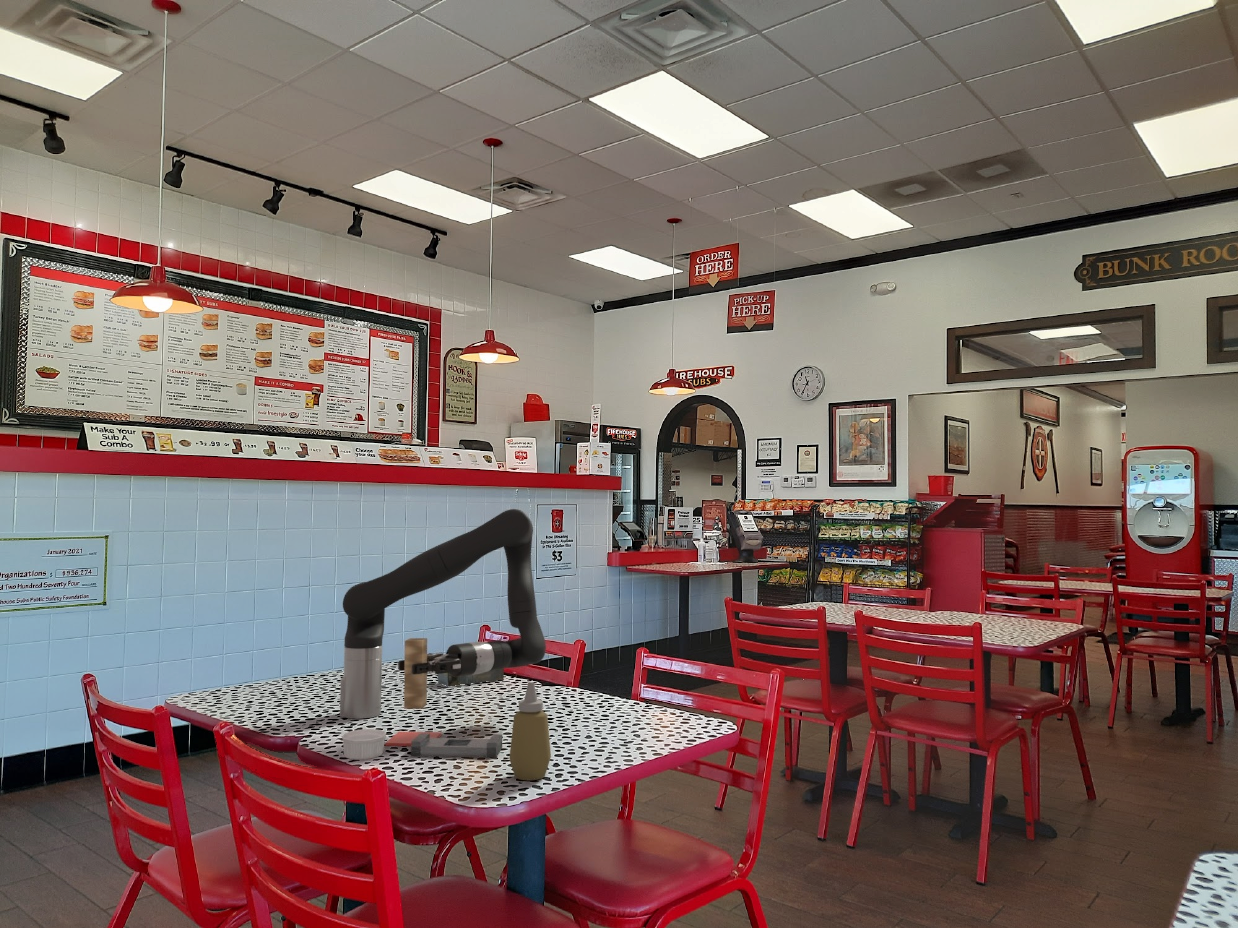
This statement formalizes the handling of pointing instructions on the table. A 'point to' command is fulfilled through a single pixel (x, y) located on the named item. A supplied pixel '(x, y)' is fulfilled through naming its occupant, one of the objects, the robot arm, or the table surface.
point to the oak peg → (415, 682)
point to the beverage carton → (471, 678)
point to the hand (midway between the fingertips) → (405, 667)
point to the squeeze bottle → (530, 738)
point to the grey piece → (456, 746)
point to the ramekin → (363, 744)
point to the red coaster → (408, 738)
